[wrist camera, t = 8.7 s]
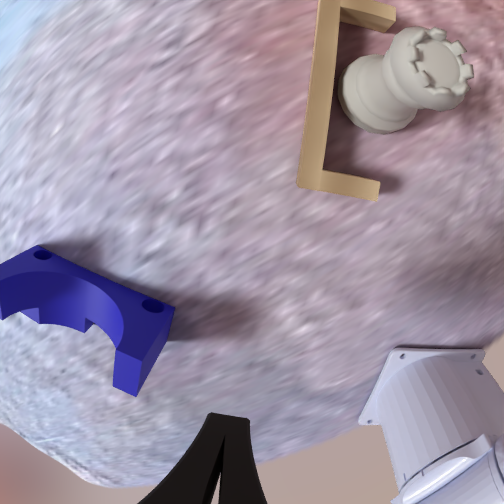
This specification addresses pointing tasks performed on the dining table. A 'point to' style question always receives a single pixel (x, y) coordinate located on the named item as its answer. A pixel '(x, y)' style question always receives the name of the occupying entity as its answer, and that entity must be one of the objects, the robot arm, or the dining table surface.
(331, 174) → the wooden bracket
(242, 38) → the dining table surface
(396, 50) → the rook chess piece
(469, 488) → the robot arm
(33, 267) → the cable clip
